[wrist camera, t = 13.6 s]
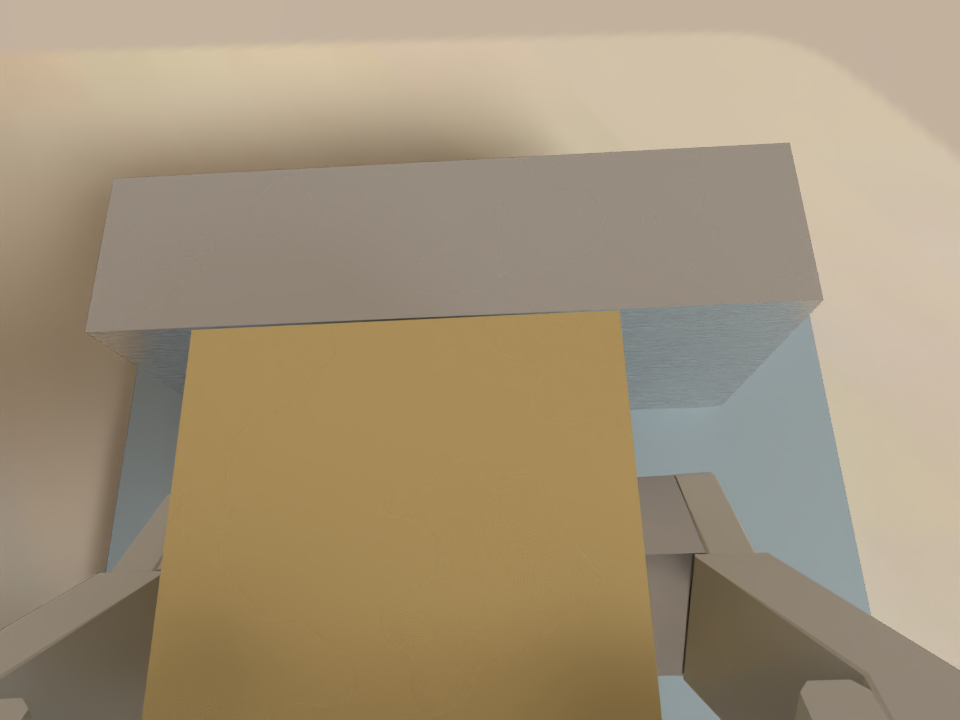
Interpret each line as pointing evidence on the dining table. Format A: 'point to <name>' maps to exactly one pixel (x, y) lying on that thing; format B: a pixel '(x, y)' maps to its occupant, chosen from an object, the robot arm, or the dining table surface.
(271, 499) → the brass block
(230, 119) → the dining table surface
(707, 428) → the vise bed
